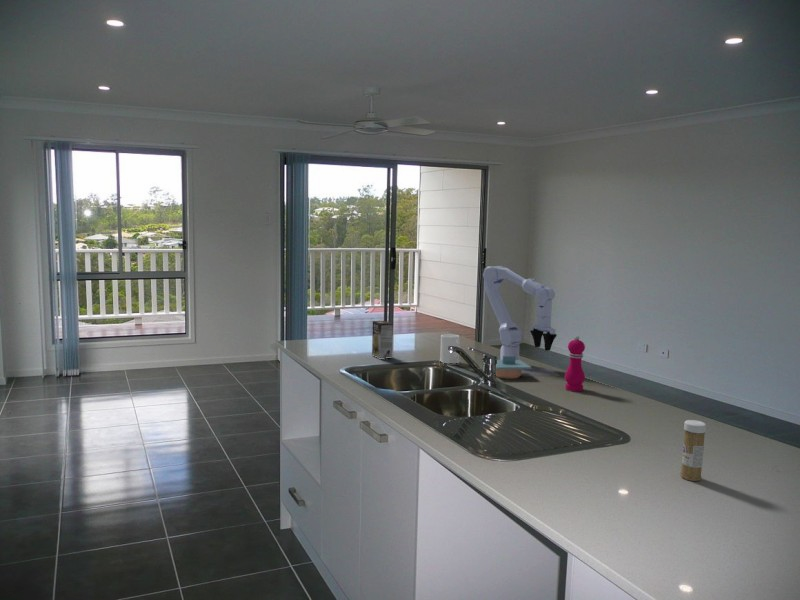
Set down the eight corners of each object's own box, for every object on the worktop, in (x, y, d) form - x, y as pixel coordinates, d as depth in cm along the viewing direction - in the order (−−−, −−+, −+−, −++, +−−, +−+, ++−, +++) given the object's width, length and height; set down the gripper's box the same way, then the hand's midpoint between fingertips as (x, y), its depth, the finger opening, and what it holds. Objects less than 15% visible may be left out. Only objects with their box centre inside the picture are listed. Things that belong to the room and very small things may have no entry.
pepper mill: (582, 387, 231) (585, 334, 229) (586, 392, 224) (589, 337, 222) (562, 386, 232) (565, 333, 229) (565, 391, 224) (568, 337, 222)
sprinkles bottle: (676, 474, 147) (680, 419, 146) (694, 474, 147) (698, 419, 146) (687, 482, 142) (691, 425, 141) (705, 481, 143) (710, 425, 141)
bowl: (490, 373, 250) (491, 362, 250) (515, 373, 252) (515, 362, 251) (498, 379, 240) (498, 368, 239) (523, 379, 241) (524, 368, 241)
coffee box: (371, 356, 281) (372, 320, 279) (384, 355, 283) (385, 320, 282) (379, 359, 273) (380, 323, 271) (392, 358, 275) (393, 323, 274)
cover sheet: (486, 361, 251) (487, 352, 251) (519, 361, 253) (520, 352, 253) (496, 369, 238) (496, 359, 237) (531, 369, 239) (532, 359, 239)
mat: (509, 368, 261) (509, 367, 261) (546, 368, 264) (546, 367, 263) (522, 377, 246) (522, 376, 246) (560, 376, 248) (560, 375, 248)
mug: (466, 365, 266) (467, 337, 264) (449, 366, 262) (450, 338, 261) (452, 360, 276) (453, 333, 275) (436, 361, 273) (436, 334, 271)
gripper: (526, 314, 261) (524, 345, 262) (545, 318, 247) (543, 352, 249) (540, 313, 263) (539, 345, 265) (560, 318, 250) (558, 351, 251)
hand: (542, 348), depth 257 cm, fingers open, 7 cm apart
